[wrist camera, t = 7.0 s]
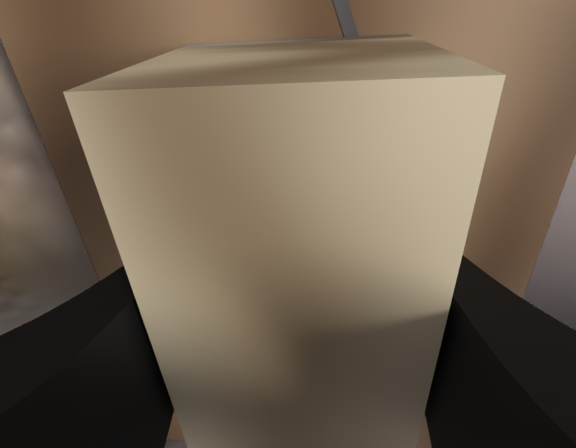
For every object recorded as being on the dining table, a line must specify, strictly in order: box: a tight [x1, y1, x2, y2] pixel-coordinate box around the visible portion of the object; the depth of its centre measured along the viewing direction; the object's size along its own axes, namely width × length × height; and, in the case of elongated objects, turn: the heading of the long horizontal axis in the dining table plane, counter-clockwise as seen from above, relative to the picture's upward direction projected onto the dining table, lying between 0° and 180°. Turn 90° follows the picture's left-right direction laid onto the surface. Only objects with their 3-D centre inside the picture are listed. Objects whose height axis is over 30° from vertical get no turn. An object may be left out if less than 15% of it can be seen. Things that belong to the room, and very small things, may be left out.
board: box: [0, 0, 576, 448], centre depth 13 cm, size 14×20×2 cm
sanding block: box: [63, 34, 506, 448], centre depth 9 cm, size 5×9×5 cm, turn 3°
